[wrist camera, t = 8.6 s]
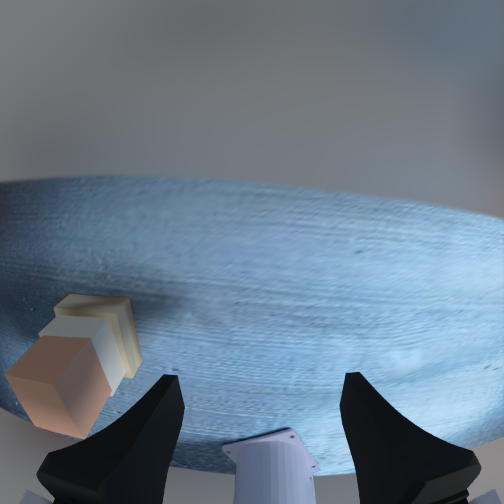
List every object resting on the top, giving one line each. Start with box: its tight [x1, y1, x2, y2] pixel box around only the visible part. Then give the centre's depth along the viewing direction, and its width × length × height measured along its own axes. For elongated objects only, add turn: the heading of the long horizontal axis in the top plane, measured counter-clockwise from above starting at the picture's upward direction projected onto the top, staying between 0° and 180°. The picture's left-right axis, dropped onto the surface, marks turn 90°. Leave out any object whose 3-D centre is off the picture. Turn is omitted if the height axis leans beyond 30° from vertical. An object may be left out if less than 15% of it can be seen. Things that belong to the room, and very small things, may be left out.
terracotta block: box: [5, 335, 112, 439], centre depth 16 cm, size 4×4×5 cm
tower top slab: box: [38, 315, 126, 396], centre depth 20 cm, size 5×5×3 cm
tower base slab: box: [53, 294, 143, 378], centre depth 23 cm, size 6×6×3 cm
